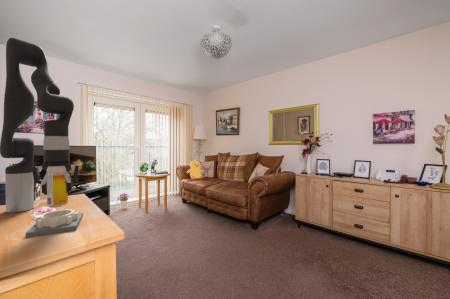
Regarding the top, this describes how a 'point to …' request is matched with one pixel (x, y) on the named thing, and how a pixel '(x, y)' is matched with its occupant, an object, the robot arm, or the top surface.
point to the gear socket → (55, 222)
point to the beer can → (56, 186)
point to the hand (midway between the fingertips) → (57, 193)
